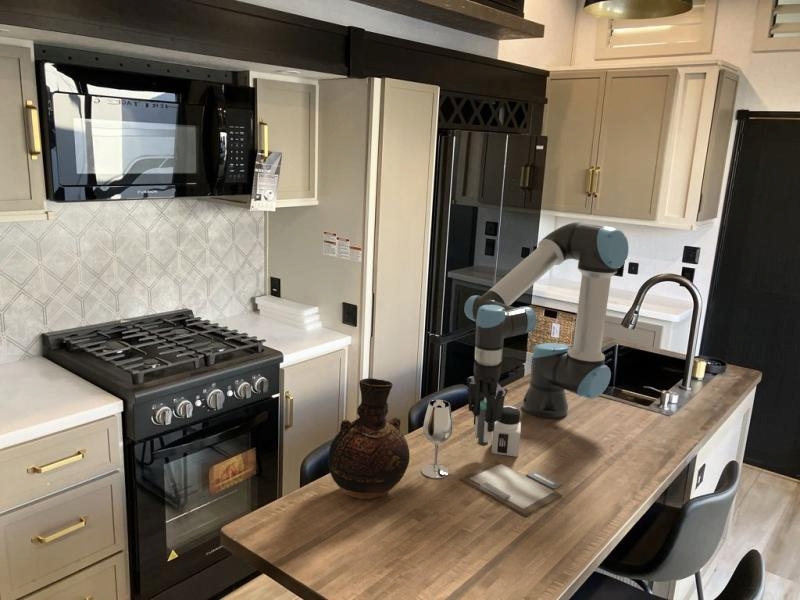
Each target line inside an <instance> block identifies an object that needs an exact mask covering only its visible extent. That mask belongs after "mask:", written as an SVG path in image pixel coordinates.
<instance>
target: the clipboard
mask: <svg viewBox="0 0 800 600" xmlns="http://www.w3.org/2000/svg"><path fill="white" fill-rule="evenodd" d="M459 480H460V481H462V482H464V483H466V484H467V485H468V486H470V487H472V488H474V489H475V490H478V491H479V492H481V493H482V494H484V495H486V496H488V497H490V498H491V499H493V500H495V501H497V502H499V503H500V504H502V505H504V506H505V507H507V508H509V509H510V510H512V511H514V512H515V513H517V514H519V515H521V516H523V517H525V518H527V517H528V516H530V515H532V514H534V513H536V512H538V511H539V510H541V509H543V508H544V507H546V506H548V505H551V504H552V503H553V502H556V501H557V500H559V499H561V498H563V494H561V493H559V492H557V491H555V490H553V489H551V488H549V487H547V486H545V485H543V484H542V483H540V482H538V481H536V480H534V479H532V478H530V477H528V476H526V475H524V474H523V473H520V472H518V471H517V470H515V469H513V468H511V467H509V466H507V465H505V464H503V463H501V462H500V461H495V462H492V463H490V464H488V465H485V466H483V467H481V468H478V469H476V470H474V471H471V472H469V473H468V474H465V475H463V476H460V477H459Z"/></svg>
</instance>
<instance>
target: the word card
mask: <svg viewBox="0 0 800 600" xmlns="http://www.w3.org/2000/svg"><path fill="white" fill-rule="evenodd" d="M525 476H526V477H528V478H530V479H532V480H534V481H536V482H538V483H540V484H542V485H544V486H546V487H548V488H550V489H552V490H553V491H555V490H556V489H558V488H560V487H562V486H563V485H562V483H560V482H559V481H556V480H554V479H552V478H551V477H548V476H546V475H544V474H542V473H540V472H538V471H536V470H532V471H530V472H528V473H527V474H526V475H525Z"/></svg>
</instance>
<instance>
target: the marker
mask: <svg viewBox="0 0 800 600" xmlns="http://www.w3.org/2000/svg"><path fill="white" fill-rule="evenodd" d="M485 420H487V406H486V398H484V399H483V400H480V417H479V434H478V438H477V444H478V445H479V446H481V447H485V446H488V444H489V443H488V442H489V441H488V442H486V443H485V442H483V439H484V424H485Z"/></svg>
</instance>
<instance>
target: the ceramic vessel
mask: <svg viewBox="0 0 800 600" xmlns="http://www.w3.org/2000/svg"><path fill="white" fill-rule="evenodd" d="M392 388H393V383H392V382H391V381H389V380H385V379H377V378H373V377H371V378H363V379H361V380H359V391H360V394H361V395H360V396H361V400H360V401H361V402H360V404H359V405H358V407H357V409H356V410H357V411H356V413H357V415H358V418H356V419H354V420H353V421H350V420H348V419H343V420H342V421H341V423H340V429H339V431H338V432H337V434H335V436H334V438H333V439H332V441H331V443H330V446H329V450H328V455H327V456H328V457H327V464H328V470H329V473H330V476H331V478H332V480H333V482H334V483H336V485H337V486H338V487H339V488H340V490H342V491H343V492H344V493H345V494H346V495H349V496H351V497H353V498H357V499H359V500H373V499H376V498H379V497H382V496H383V495H385V494H386V493H388V492H389V491H391V490H392V489H393V488H395V487H396V485H397V484H399V482H400V481H401V480H402V478H403V477H404V475H405V473H406V471H407V469H408V467H409V464H410V448H409V444H408V442H407V439H406V438H405V436H404V434H403V433H402V431H401V430H400V427H401V419H400V418H398V417H395V418H391V419H387V418H386V416H387V415H388V413H389V404H388V399H389V398H388V397H389V395H390V393H391V389H392Z"/></svg>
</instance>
